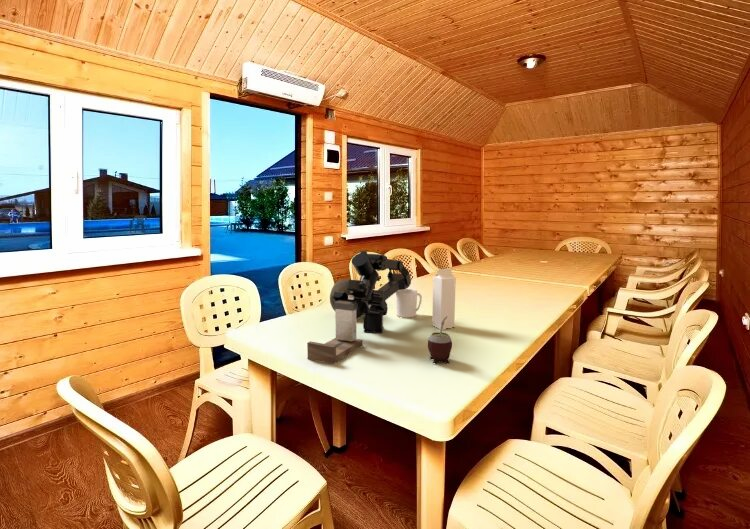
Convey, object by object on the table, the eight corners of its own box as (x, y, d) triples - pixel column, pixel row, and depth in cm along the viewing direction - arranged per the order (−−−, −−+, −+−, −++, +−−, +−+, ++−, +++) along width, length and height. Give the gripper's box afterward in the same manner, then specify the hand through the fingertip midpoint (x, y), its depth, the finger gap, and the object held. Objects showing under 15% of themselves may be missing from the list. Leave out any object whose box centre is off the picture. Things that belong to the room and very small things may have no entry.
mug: (392, 317, 176) (392, 292, 175) (399, 312, 185) (399, 288, 183) (418, 320, 172) (418, 294, 171) (424, 314, 181) (424, 290, 179)
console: (339, 341, 146) (338, 327, 145) (362, 345, 142) (362, 330, 141) (307, 358, 130) (307, 342, 129) (333, 364, 126) (333, 347, 125)
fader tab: (339, 336, 143) (338, 300, 142) (357, 339, 140) (357, 302, 139) (334, 338, 141) (333, 302, 139) (353, 341, 138) (353, 304, 136)
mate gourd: (435, 355, 133) (436, 307, 131) (458, 361, 128) (459, 311, 126) (421, 362, 127) (422, 312, 125) (445, 368, 122) (446, 316, 120)
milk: (454, 328, 161) (456, 269, 158) (440, 330, 159) (442, 270, 156) (445, 324, 167) (447, 267, 164) (431, 325, 164) (433, 268, 161)
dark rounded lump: (363, 320, 172) (363, 282, 170) (328, 319, 172) (327, 282, 170) (365, 311, 186) (365, 276, 184) (332, 311, 186) (331, 276, 184)
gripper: (334, 268, 149) (317, 306, 141) (383, 272, 141) (368, 312, 133) (346, 286, 157) (330, 323, 149) (393, 291, 149) (379, 331, 141)
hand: (351, 322), depth 143 cm, fingers closed
